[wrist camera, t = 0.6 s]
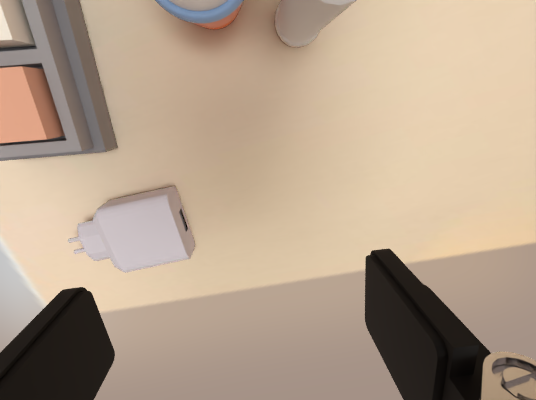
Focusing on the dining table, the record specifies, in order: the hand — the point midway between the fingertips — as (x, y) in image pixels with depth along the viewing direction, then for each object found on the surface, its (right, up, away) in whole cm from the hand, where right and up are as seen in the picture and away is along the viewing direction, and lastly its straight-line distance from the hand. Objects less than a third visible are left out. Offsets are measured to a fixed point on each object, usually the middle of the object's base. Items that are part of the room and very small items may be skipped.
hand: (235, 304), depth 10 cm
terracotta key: (-24, +13, +19) cm, 33 cm away
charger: (-17, 0, +30) cm, 35 cm away
